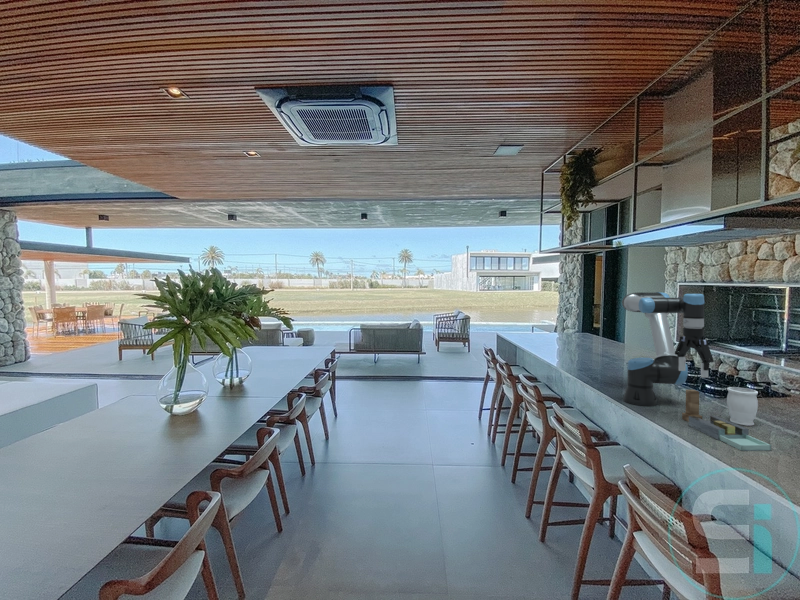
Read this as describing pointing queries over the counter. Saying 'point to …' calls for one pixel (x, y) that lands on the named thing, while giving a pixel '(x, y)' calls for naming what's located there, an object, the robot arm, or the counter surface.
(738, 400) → the jar
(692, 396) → the stepped wooden block
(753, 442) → the tray
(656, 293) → the robot arm
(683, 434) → the counter surface
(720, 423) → the chip
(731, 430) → the yellow sponge cube
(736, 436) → the slot board
